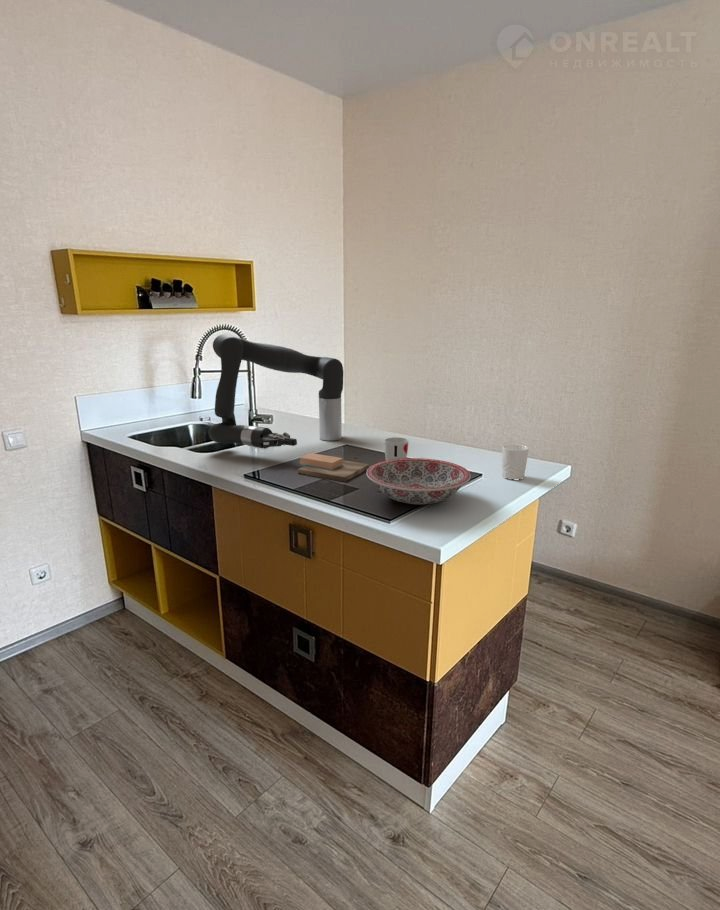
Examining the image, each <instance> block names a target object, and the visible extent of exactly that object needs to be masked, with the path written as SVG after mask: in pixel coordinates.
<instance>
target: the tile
mask: <svg viewBox="0 0 720 910" xmlns="http://www.w3.org/2000/svg"><path fill="white" fill-rule="evenodd" d="M299 460H300V461H299V463H300V465H303V466H306V465H308V466H313V467H319V468H324V469H330V470H333V469H335V468H338V467H340V466H342V465H343V460H344V458H343V457H338V456H332V455H331V456H330V455H325V454H320V453H313V452H310V453H308V454H305V455H302V456H300V457H299Z"/></svg>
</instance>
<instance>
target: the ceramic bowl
mask: <svg viewBox="0 0 720 910" xmlns="http://www.w3.org/2000/svg"><path fill="white" fill-rule="evenodd" d="M365 472H366V476H367V478H368V479H369V480H370V481H371V482H373V483H374V484H375V485H376V487H377V488H378V489H379V490H380V492H381V493H383V494H384V495H385V496H387V497H388V498H390V499H392V500H393V501H396V502H400V503H404V504H409V505H430V504H432V505H433V504H437V503H440V502H444V501H445V500H447V499H449V498H451V497H452V496H454V494H456V493H457V492H458V491H459V490H460V488H461V487H462V486H464V485H466V484H467V483H468V482H469V481H470V480H471V477H472V476H471V472H470V471H469V470H468V469H466V468H465V467H463V466H461V465H459V464H457V463H453V462H451V461H445V460H439V459H432V458H424V457H423V458H422V457H416V458H415V457H413V458H412V457H410V458H409V457H406V458H403V459H393V460H387V461H386V460H384V461H379V462H377V463H375V464H374V463H373V465H371V466H369V468H368V470H366V471H365Z"/></svg>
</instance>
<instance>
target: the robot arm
mask: <svg viewBox="0 0 720 910" xmlns="http://www.w3.org/2000/svg"><path fill="white" fill-rule="evenodd" d="M212 349H213V351H214V353H215V354H216V356H217V357H219V358H220V365H221V367H220V368H221V369H220V371H221V372H220V377H219V382H218V384H217V389H216V393H215V400H214V415H215V416H216V417H218V418H221V422H218V423H214V424H212V425H211V426H210V427H209V429H208V432H207V433H208V437H209V438H210V440H211V441H212V442H215V443H216V444H217V443H218V444H238V445H243V446H248V447H252V448H258V449H265V450H266V449H268V448H272V447H275V448H276V447H282V446H292V447H294V446H297V444H298V440H297V438H292V437H291V435H290V434H289V433H287V432H283V433H282V434H281V433H278V432H273V431H272V430H271V429H270V428H269V427H262V426H256V425H245V424H237V423H236V417H235V404H236V391H237V383H238V378H239V372H240V367H241V364H242V361H247V362H250V363H252V364H256V365H258V366H260V367H264V368H266V369H269V370H272V371H277V372H282V373H283V372H284V373H289V374H291V373H292V374H294V373H295V374H305V375H308V376H312V377H315V378H318V379H320V380H322V388H321V389H319V390H318V420H319V421H318V422H319V427H318V428H319V430H318V431H319V440H320V441H321V440H322V441H328V442H329V441H330V442H331V441H338V440H341V439H343V438H342V437H343V436H342V435H343V434H342V430H343V429H342V426H343V425H342V393H343V391H344V390H343V389H344V366H343V363H342V362H341V360H339V359H337V358H335V357H328V356H327V357H326V356H322V357H321V356H316V355H307V354H304V353H302V352H300V351H298V350H295V349H292V348H289V347H286V346H281V345H274V344H269V343H262V342H254V341H249V340H246V339H243V338H241V337H237V336H235V335H232V334H229V333H223V334H219V335H217V336H216V337H215V338H214V340H213V342H212Z"/></svg>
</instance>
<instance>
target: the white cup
mask: <svg viewBox="0 0 720 910" xmlns="http://www.w3.org/2000/svg"><path fill="white" fill-rule="evenodd" d="M528 455H529V447H528V446H526V445H523V444H517V443H516V444H515V443H511V444H510V443H509V444H504V445H502V453H501V457H502V458H501V462H502V463H501V469H502V470H501V471H502V472H501V473H502V474H501V476H502V478H503V477H505V478H508V479H522V478H524V479H525V476H526V475H525V472H526V469H527V462H528ZM505 478H504V479H505ZM508 479H507V480H508ZM522 480H523V479H522Z"/></svg>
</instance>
